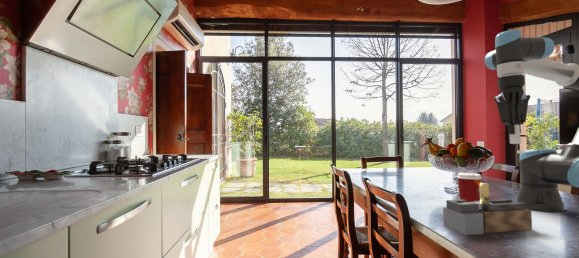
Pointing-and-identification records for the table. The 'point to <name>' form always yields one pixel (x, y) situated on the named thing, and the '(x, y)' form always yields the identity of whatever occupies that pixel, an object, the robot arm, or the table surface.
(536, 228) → the table surface
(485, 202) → the white and gold piece
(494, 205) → the door
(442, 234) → the table surface
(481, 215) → the bracket
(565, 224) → the table surface
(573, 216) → the table surface
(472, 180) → the coffee cup
